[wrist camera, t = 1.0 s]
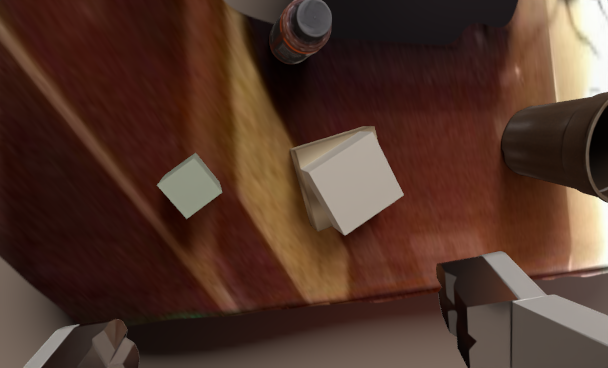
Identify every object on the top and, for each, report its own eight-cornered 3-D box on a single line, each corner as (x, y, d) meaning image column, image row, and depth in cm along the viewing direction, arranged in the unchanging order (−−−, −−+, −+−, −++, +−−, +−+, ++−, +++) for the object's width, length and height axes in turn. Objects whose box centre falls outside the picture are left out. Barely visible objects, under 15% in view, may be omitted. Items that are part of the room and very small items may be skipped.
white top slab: (300, 169, 47) (308, 172, 43) (359, 131, 49) (372, 131, 45) (334, 227, 50) (344, 235, 46) (389, 190, 52) (403, 195, 48)
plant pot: (478, 176, 60) (573, 193, 45) (505, 83, 58) (612, 67, 43) (546, 193, 65) (652, 214, 50) (572, 108, 63) (690, 102, 48)
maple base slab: (288, 148, 50) (295, 150, 47) (362, 126, 53) (374, 126, 49) (309, 224, 53) (317, 231, 49) (378, 199, 56) (391, 204, 52)
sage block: (164, 175, 46) (156, 185, 38) (195, 152, 46) (194, 157, 39) (189, 204, 47) (186, 219, 40) (219, 181, 48) (222, 192, 40)
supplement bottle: (308, 67, 49) (338, 51, 38) (266, 62, 47) (285, 43, 36) (311, 22, 48) (343, -7, 37) (269, 16, 46) (289, -18, 36)
